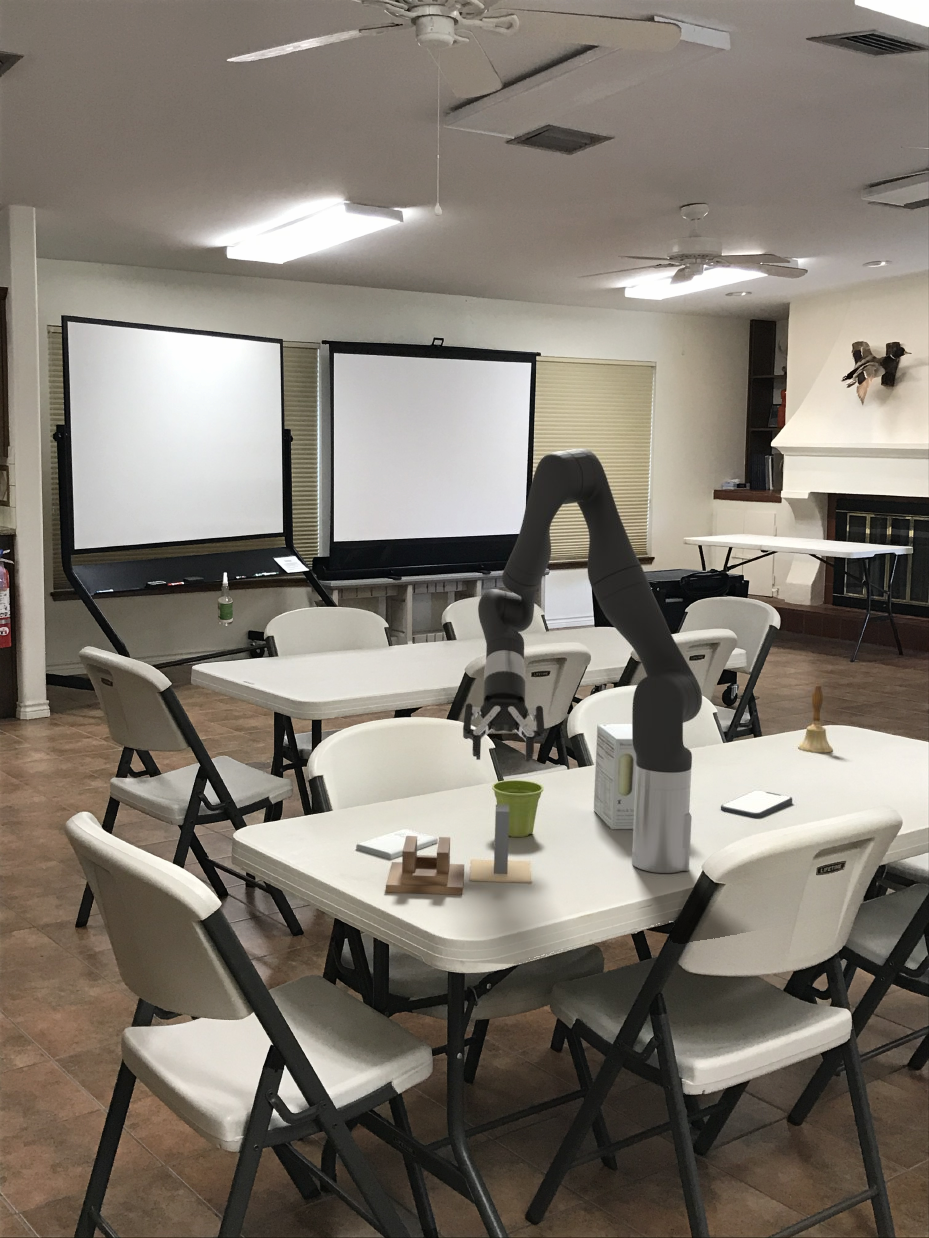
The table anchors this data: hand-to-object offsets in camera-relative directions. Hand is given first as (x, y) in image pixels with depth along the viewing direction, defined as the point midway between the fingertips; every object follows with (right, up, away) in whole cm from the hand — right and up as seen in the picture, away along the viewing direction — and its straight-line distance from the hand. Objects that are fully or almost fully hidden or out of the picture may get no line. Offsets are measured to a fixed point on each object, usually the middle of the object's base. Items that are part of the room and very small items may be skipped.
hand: (503, 758), depth 206 cm
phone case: (+52, -14, +35) cm, 64 cm away
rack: (-13, -18, -14) cm, 26 cm away
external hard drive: (-19, -17, +4) cm, 25 cm away
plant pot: (+3, -15, +13) cm, 20 cm away
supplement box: (+26, -15, +23) cm, 38 cm away
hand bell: (+80, -8, +88) cm, 119 cm away
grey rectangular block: (-1, -17, -9) cm, 19 cm away
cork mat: (-1, -18, -9) cm, 20 cm away
